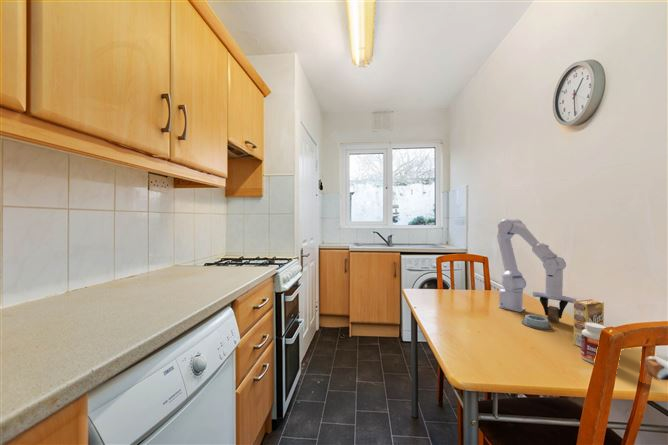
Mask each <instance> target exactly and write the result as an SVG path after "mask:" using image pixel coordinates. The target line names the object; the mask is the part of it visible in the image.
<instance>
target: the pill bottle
mask: <svg viewBox="0 0 668 445" xmlns="http://www.w3.org/2000/svg"><path fill="white" fill-rule="evenodd" d="M585 328H586V329H584V330H582V334H581V347H580V357H581V358H582V359H583V360H585V361H586V362H588V363H591V364H594V359H595V356H596V351H597V347H598V342H599V337H600V332H601V330H602V329H604V328H606V329H607V327H606V326H605V325H604V326H603V325H600V324H597V323H590V322H587V323H585Z"/></svg>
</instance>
